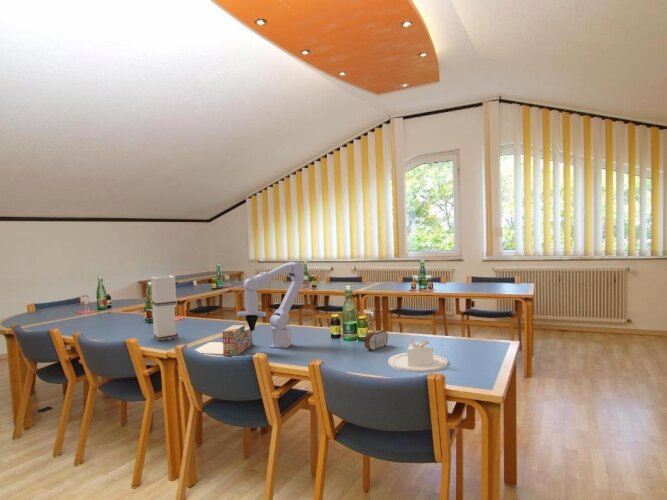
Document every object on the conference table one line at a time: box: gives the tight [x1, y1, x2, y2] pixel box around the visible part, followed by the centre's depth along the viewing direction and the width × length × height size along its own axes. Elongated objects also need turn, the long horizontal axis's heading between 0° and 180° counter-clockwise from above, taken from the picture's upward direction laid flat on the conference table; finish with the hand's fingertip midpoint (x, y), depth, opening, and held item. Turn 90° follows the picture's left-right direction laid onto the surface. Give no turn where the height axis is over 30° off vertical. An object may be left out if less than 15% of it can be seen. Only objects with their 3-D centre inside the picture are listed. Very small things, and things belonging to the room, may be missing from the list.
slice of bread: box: [364, 329, 389, 351], centre depth 207 cm, size 15×3×8 cm, turn 134°
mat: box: [194, 341, 224, 355], centre depth 218 cm, size 18×20×1 cm
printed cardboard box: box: [222, 324, 253, 357], centre depth 213 cm, size 21×6×12 cm, turn 169°
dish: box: [388, 338, 449, 373], centre depth 182 cm, size 25×25×11 cm
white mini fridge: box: [150, 275, 179, 341], centre depth 245 cm, size 11×11×35 cm
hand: (252, 330), depth 211 cm, fingers closed
